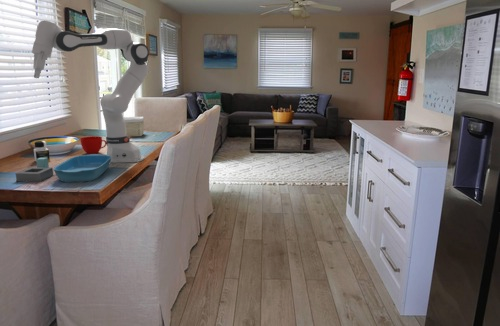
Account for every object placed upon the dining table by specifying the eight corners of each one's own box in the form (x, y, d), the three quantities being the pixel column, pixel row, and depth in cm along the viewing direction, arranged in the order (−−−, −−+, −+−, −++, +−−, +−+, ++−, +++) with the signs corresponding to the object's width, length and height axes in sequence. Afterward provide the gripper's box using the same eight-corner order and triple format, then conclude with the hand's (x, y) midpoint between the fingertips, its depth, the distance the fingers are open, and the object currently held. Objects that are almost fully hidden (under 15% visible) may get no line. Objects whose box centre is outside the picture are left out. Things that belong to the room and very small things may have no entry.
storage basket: (111, 137, 320) (109, 119, 316) (116, 134, 335) (114, 116, 332) (142, 137, 322) (140, 118, 318) (145, 133, 337) (144, 116, 334)
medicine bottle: (37, 163, 236) (34, 142, 233) (34, 160, 241) (32, 141, 238) (50, 161, 240) (47, 141, 237) (48, 159, 245) (45, 139, 243)
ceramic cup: (101, 155, 253) (100, 140, 251) (77, 154, 257) (75, 139, 254) (112, 151, 266) (111, 136, 264) (89, 150, 269) (87, 136, 267)
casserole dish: (95, 184, 193) (94, 170, 191) (47, 185, 192) (46, 170, 190) (117, 166, 229) (116, 153, 227) (77, 166, 228) (75, 154, 226)
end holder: (53, 175, 209) (52, 167, 208) (40, 181, 197) (39, 173, 196) (31, 174, 210) (30, 167, 209) (16, 181, 198) (15, 173, 197)
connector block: (49, 170, 219) (47, 157, 217) (45, 172, 215) (43, 159, 214) (42, 170, 219) (40, 157, 218) (37, 172, 215) (36, 159, 214)
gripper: (50, 52, 201) (44, 79, 202) (46, 54, 219) (41, 79, 219) (36, 48, 198) (30, 76, 199) (33, 51, 215) (28, 76, 216)
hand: (36, 78), depth 209 cm, fingers open, 8 cm apart
